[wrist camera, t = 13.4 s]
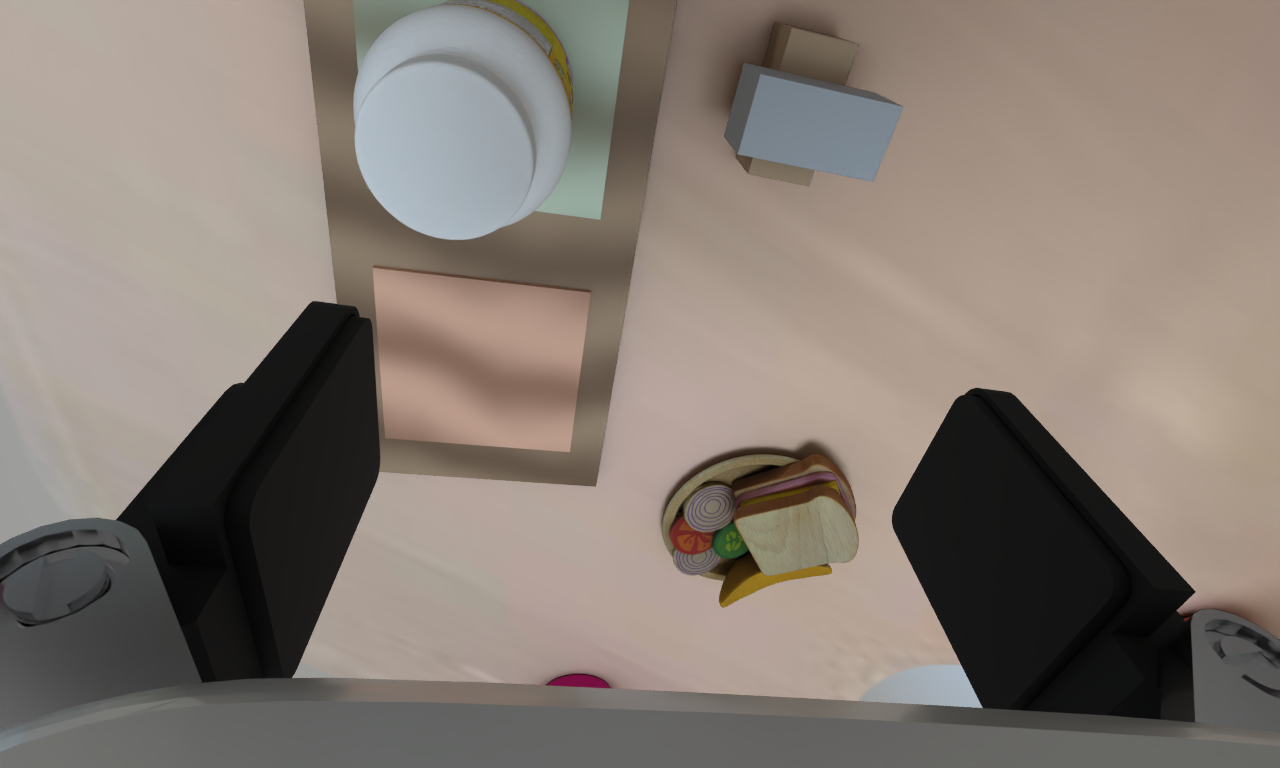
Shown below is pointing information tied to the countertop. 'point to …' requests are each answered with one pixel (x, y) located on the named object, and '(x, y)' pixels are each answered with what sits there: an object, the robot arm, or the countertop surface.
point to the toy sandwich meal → (761, 522)
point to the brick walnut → (808, 59)
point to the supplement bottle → (464, 116)
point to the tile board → (499, 260)
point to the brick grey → (810, 123)
